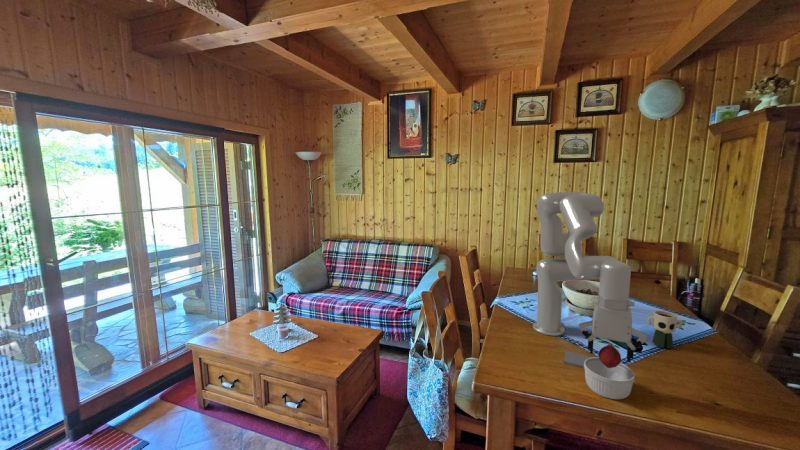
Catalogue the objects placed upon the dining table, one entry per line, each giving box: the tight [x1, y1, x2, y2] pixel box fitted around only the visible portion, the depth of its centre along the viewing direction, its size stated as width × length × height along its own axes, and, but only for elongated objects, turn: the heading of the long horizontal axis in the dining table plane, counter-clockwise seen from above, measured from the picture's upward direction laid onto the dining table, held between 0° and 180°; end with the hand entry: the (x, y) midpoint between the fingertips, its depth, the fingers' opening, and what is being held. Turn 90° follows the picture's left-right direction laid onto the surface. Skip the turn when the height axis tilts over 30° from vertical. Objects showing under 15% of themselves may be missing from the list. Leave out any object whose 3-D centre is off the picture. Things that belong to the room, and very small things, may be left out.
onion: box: [598, 342, 622, 368], centre depth 100 cm, size 6×6×8 cm
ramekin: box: [583, 356, 636, 401], centre depth 101 cm, size 13×13×7 cm
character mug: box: [646, 309, 683, 349], centre depth 125 cm, size 11×7×13 cm, turn 67°
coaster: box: [563, 350, 591, 369], centre depth 117 cm, size 8×8×1 cm
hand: (609, 355), depth 100 cm, fingers open, 9 cm apart
